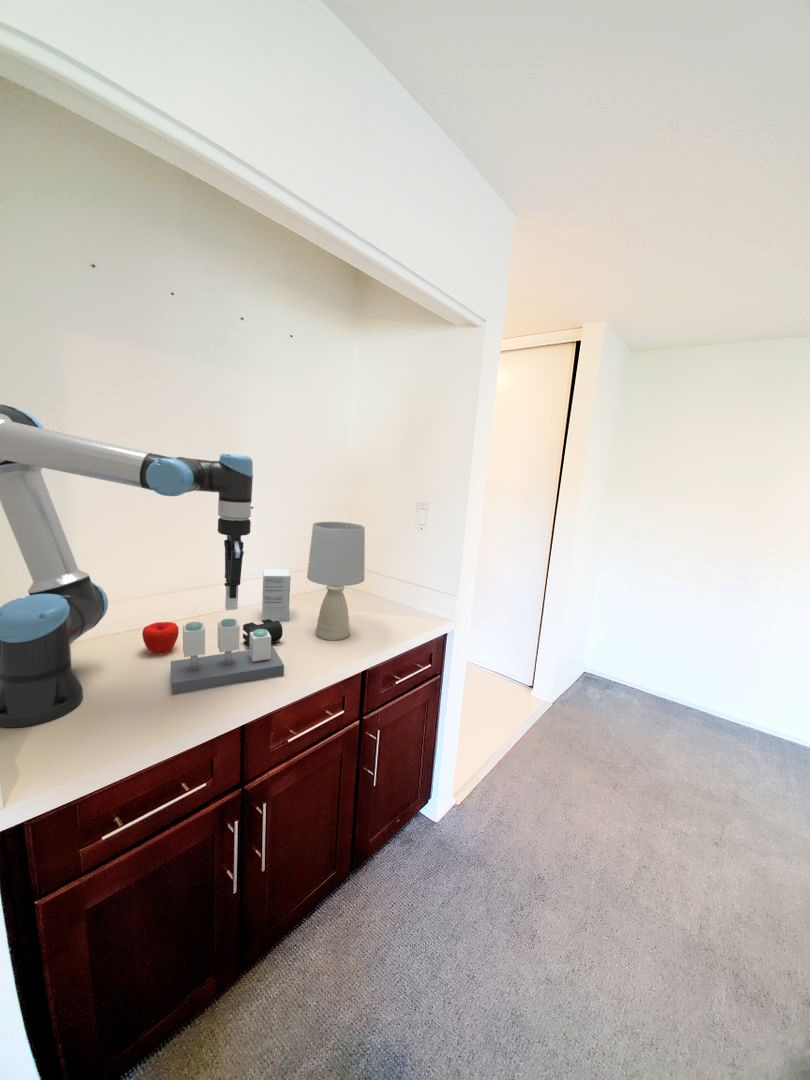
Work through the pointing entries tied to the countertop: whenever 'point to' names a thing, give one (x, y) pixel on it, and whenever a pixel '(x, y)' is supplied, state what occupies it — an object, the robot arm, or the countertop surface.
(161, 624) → the apple
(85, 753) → the countertop surface
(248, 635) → the end cap
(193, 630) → the button near
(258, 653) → the button far
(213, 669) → the mount
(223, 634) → the button mid
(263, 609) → the supplement box
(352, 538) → the lamp
